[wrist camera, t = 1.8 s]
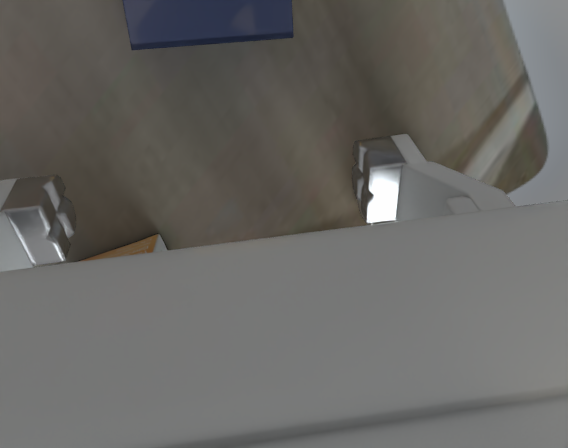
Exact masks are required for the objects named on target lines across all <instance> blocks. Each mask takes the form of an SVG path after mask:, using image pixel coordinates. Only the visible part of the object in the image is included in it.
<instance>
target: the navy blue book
mask: <svg viewBox="0 0 568 448" xmlns="http://www.w3.org/2000/svg"><path fill="white" fill-rule="evenodd" d="M123 5H124V11H125V16H126V21H127V27H128V32H129V38H130V43H131V48H132V50H141V49H154V48H167V47H180V46H193V45H206V44H219V43H232V42H245V41H258V40H271V39H284V38H293V37H294V36H293V17H292V0H123Z"/></svg>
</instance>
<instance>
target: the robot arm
mask: <svg viewBox="0 0 568 448" xmlns="http://www.w3.org/2000/svg"><path fill="white" fill-rule="evenodd" d="M353 156H354V159H355V161H356V164H355V165H354V166H353V168H352V183H353V190H354V194H355V196H356V199H357V200H359V201H361V211H362V213H363V215H364V218H365V220H366V222H367V223H371V222H381V221H391V220H396V221H397V222H389V223H381V224H373V225H366V226H358V227H350V228H342V229H334V230H326V231H318V232H310V233H302V234H294V235H286V236H279V237H271V238H263V239H255V240H247V241H239V242H231V243H223V244H215V245H207V246H199V247H191V248H183V249H176V250H168V251H160V252H152V253H144V254H136V255H128V256H120V257H112V258H104V259H96V260H88V261H80V262H72V263H64V264H56V265H48V266H41V267H33V266H35V265H41V264H48V263H54V262H61V261H65V260H66V257H67V254H68V251H69V248H70V245H71V244H70V242H69V240H68V238H69V237H71V236H72V235H73V234H74V232H75V228H76V215H75V211H74V207H73V205H72V202H71V201H70V200H69V199H67V198H66V197H64V196H63V194H64V191H65V186H64V183H63V181H62V179H61V177H59V176H58V175H48V176H37V177H27V178H20V179H19V178H15V179H7V180H1V181H0V448H568V200H564V201H556V202H548V203H540V204H532V205H524V206H515V205H514V204H513V202H512V201H511V200H510V199H509V197H508V196H507V195H506V194H505V193H504V191H503V190H500V189H498V188H496V187H493V186H491V185H488V184H486V183H483V182H481V181H479V180H476V179H474V178H471V177H469V176H467V175H464V174H462V173H459V172H457V171H454V170H452V169H450V168H447V167H445V166H442V165H440V164H437V163H435V162H433V161H430V162H427V161H426V160H425V158H424V157H423V155H422V154H421V152H420V151H419V150H418V148H417V147H416V145H415V144H414V142H413V141H412V139H411V138H410V137H409V135H408V134H400V135H394V136H386V137H379V138H372V139H365V140H358V141H354V145H353Z"/></svg>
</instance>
